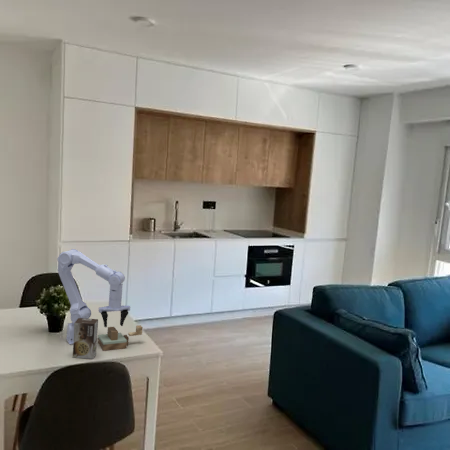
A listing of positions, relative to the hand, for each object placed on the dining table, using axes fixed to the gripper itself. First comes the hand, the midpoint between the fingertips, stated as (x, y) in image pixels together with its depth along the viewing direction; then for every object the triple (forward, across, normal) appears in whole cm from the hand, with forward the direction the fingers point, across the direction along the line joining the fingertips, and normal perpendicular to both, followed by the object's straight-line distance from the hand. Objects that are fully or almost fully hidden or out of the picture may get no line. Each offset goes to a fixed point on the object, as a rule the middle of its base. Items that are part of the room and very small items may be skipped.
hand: (113, 326), depth 212 cm
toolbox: (+10, 0, 0) cm, 10 cm away
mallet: (+5, +11, 0) cm, 12 cm away
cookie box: (+10, -14, -8) cm, 19 cm away
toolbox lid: (+7, 0, 0) cm, 7 cm away
